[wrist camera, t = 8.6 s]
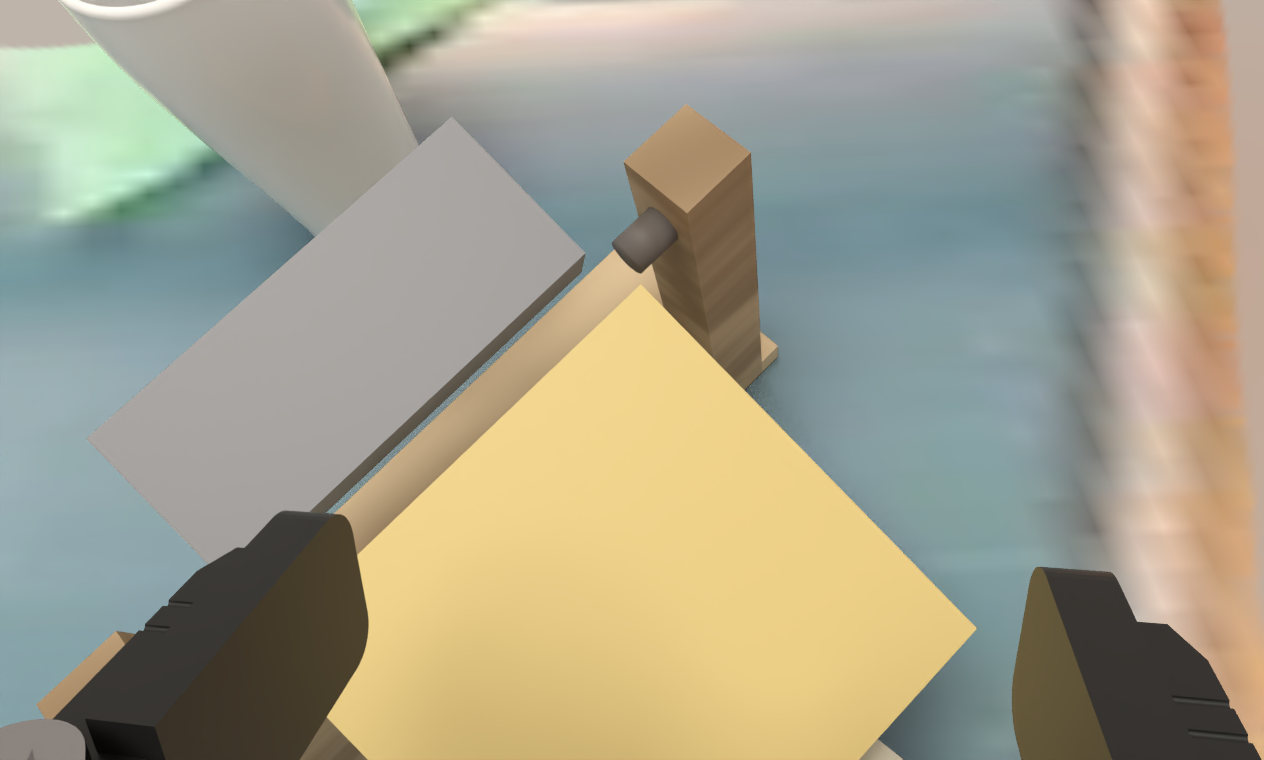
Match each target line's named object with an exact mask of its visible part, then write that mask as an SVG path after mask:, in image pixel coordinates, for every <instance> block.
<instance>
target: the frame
mask: <svg viewBox="0 0 1264 760" xmlns="http://www.w3.org/2000/svg"><path fill="white" fill-rule="evenodd" d="M624 165H625V169H626V173H627V176H628V180H629V183H630V187H631V191H632V194H633V198H634V202H635V205H636V209H637V212H638V216H639V217H638V218H637V219H636V220H635V221H634V222H633V223H632V224H631V225H630V226H629V227H628V228H627V229H626V230H625V231H624V232H622V233H621V234H620V235H619V236H618V237H617V238H616V239H615V240H614V241H613V242H612V245H613V247H614V249H615V250H613V251H612V252H611V253H610V254H609V255H608V256H607V257H606V258H605V259H604V260H603V261H602V262H601V263H600V264H599V265H598V266H596V267H595V268H594V269H593V270H592V271H591V272H590V273H589V274H588V275H587V276H586V277H585V278H584V279H583V280H582V281H581V282H579V283H578V284H577V285H576V286H575V287H574V288H573V289H572V290H571V291H570V292H569V293H568V294H567V295H566V296H565V297H564V298H562V299H561V300H560V301H559V302H558V303H557V304H556V305H555V306H554V307H553V308H552V309H551V310H550V311H549V312H548V313H547V314H545V315H544V316H543V317H542V318H541V319H540V320H539V321H538V322H537V323H536V324H535V325H534V326H533V327H532V328H531V329H530V330H528V331H527V332H526V333H525V334H524V335H523V336H522V337H521V338H520V339H519V340H518V341H517V342H516V343H515V344H514V345H513V346H511V347H510V348H509V349H508V350H507V351H506V352H505V353H504V354H503V355H502V356H501V357H500V358H499V359H498V360H497V361H496V362H494V363H493V364H492V365H491V366H490V367H489V368H488V369H487V370H486V371H485V372H484V373H483V374H482V375H481V376H480V377H479V378H477V379H476V380H475V381H474V382H473V383H472V384H471V385H470V386H469V387H468V388H467V389H466V390H465V391H464V392H463V393H462V394H461V395H459V396H458V397H457V398H456V399H455V400H454V401H453V402H452V403H451V404H450V405H449V406H448V407H447V408H446V409H445V410H444V411H442V412H441V413H440V414H439V415H438V416H437V417H436V418H435V419H434V420H433V421H432V422H431V423H430V424H429V425H428V426H427V427H425V428H424V429H423V430H422V431H421V432H420V433H419V434H418V435H417V436H416V437H415V438H414V439H413V440H412V441H411V442H410V443H408V444H407V445H406V446H405V447H404V448H403V449H402V450H401V451H400V452H399V453H398V454H397V455H396V456H395V457H394V458H393V459H391V460H390V461H389V462H388V463H387V464H386V465H385V466H384V467H383V468H382V469H381V470H380V471H379V472H378V473H377V474H376V475H374V476H373V477H372V478H371V479H370V480H369V481H368V482H367V483H366V484H365V485H364V486H363V487H362V488H361V489H360V490H359V491H357V492H356V493H355V494H354V495H353V496H352V497H351V498H350V499H349V500H348V501H347V502H346V503H345V504H344V505H343V506H342V507H340V508H339V509H338V510H337V511H336V512H335V513H334V514H342V515H344V516H345V517H346V518H347V519H348V521H349V522H350V525H351V527H352V531H353V536H354V541H355V546H356V552H357V555H358V554H359V553H360V552H361V551H362V550H363V549H364V548H365V547H366V546H367V545H368V544H369V543H370V542H371V541H372V540H373V539H374V538H375V537H376V536H378V535H379V534H380V533H381V532H382V531H383V530H384V529H385V528H386V527H387V526H388V525H389V524H390V523H391V522H392V521H393V520H394V519H395V518H396V517H397V516H398V515H400V514H401V513H402V512H403V511H404V510H405V509H406V508H407V507H408V506H409V505H410V504H411V503H412V502H413V501H414V500H415V499H416V498H417V497H418V496H419V495H420V494H422V493H423V492H424V491H425V490H426V489H427V488H428V487H429V486H430V485H431V484H432V483H433V482H434V481H435V480H436V479H437V478H438V477H439V476H440V475H441V474H442V473H444V472H445V471H446V470H447V469H448V468H449V467H450V466H451V465H452V464H453V463H454V462H455V461H456V460H457V459H458V458H459V457H460V456H461V455H462V454H463V453H464V452H466V451H467V450H468V449H469V448H470V447H471V446H472V445H473V444H474V443H475V442H476V441H477V440H478V439H479V438H480V437H481V436H482V435H483V434H484V433H485V432H486V431H488V430H489V429H490V428H491V427H492V426H493V425H494V424H495V423H496V422H497V421H498V420H499V419H500V418H501V417H502V416H503V415H504V414H505V413H506V412H507V411H508V410H510V409H511V408H512V407H513V406H514V405H515V404H516V403H517V402H518V401H519V400H520V399H521V398H522V397H523V396H524V395H525V394H526V393H527V392H528V391H529V390H530V389H532V388H533V387H534V386H535V385H536V384H537V383H538V382H539V381H540V380H541V379H542V378H543V377H544V376H545V375H546V374H547V373H548V372H549V371H550V370H551V369H552V368H554V367H555V366H556V365H557V364H558V363H559V362H560V361H561V360H562V359H563V358H564V357H565V356H566V355H567V354H568V353H569V352H570V351H571V350H572V349H573V348H574V347H576V346H577V345H578V344H579V343H580V342H581V341H582V340H583V339H584V338H585V337H586V336H587V335H588V334H589V333H590V332H591V331H592V330H593V329H594V328H595V327H596V326H598V325H599V324H600V323H601V322H602V321H603V320H604V319H605V318H606V317H607V316H608V315H609V314H610V313H611V312H612V311H613V310H614V309H615V308H616V307H617V306H618V305H620V304H621V303H622V302H623V301H624V300H625V299H626V298H627V297H628V296H629V295H630V294H631V293H632V292H633V291H634V290H635V289H636V288H637V287H638V286H639V285H640V284H641V285H642V286H643V287H644V288H645V289H646V290H647V291H648V292H649V293H650V294H651V295H652V296H653V297H654V298H655V299H656V300H657V301H658V302H659V303H660V304H661V305H662V306H663V307H664V308H665V310H666V311H667V312H668V313H669V314H670V315H671V316H672V317H673V318H674V319H675V320H676V321H677V322H678V323H679V324H680V325H681V326H682V327H683V328H684V329H685V330H686V331H687V332H688V333H689V334H690V335H691V336H692V337H693V338H694V339H695V340H696V341H697V342H698V343H699V344H700V345H701V346H702V347H703V348H704V349H705V350H706V352H707V353H708V354H709V355H710V356H711V357H712V358H713V359H714V360H715V361H716V362H717V363H718V364H719V365H720V366H721V367H722V368H723V369H724V370H725V371H726V372H727V373H728V374H729V375H730V376H731V377H732V378H733V379H734V380H735V381H736V382H737V383H738V384H739V385H740V386H741V387H742V388H743V389H744V390H745V389H746V388H747V387H748V386H749V385H750V384H751V383H752V382H753V381H754V380H755V379H756V378H757V377H758V376H759V375H760V374H761V373H762V372H763V371H764V370H765V369H766V368H767V367H768V366H769V365H770V364H771V363H772V362H773V361H774V360H775V359H776V358H777V357H778V346H777V345H776V344H775V343H774V342H772V341H771V340H770V339H769V338H768V337H766V336H765V335H764V334H763V333H762V332H761V331H760V318H759V299H758V279H757V260H756V241H755V222H754V203H753V184H752V165H751V152H749V151H748V150H747V149H745V148H744V147H743V146H741V145H740V144H739V143H737V142H736V141H735V140H733V139H732V138H731V137H729V136H728V135H727V134H725V133H724V132H723V131H721V130H720V129H719V128H717V127H716V126H715V125H713V124H712V123H711V122H709V121H708V120H707V119H705V118H704V117H703V116H701V115H700V114H699V113H697V112H696V111H695V110H693V109H692V108H691V107H689V106H688V105H687V104H686V105H685V106H684V107H682V108H681V109H680V110H679V111H678V112H677V113H676V114H675V115H674V116H673V117H672V118H671V119H669V120H668V121H667V122H666V123H665V124H664V125H663V126H662V127H661V128H660V129H659V130H658V131H656V132H655V133H654V134H653V135H652V136H651V137H650V138H649V139H648V140H647V141H646V142H645V143H643V144H642V145H641V146H640V147H639V148H638V149H637V150H636V151H635V152H634V153H633V154H632V155H631V156H629V157H628V158H627V159H626V160H625V161H624ZM134 635H135V634H131V633H125V632H119V631H116V632H114V633H113V634H112V635H111V636H110V637H109V638H108V639H107V640H106V641H105V642H104V643H103V644H101V645H100V646H99V647H98V648H97V649H96V650H95V651H94V652H93V653H92V654H91V655H90V656H88V657H87V658H86V659H85V660H84V661H83V662H82V663H81V664H80V665H79V666H78V667H77V668H76V669H74V670H73V671H72V672H71V673H70V674H69V675H68V676H67V677H66V678H65V679H64V680H63V681H61V682H60V683H59V684H58V685H57V686H56V687H55V688H54V689H53V690H52V691H51V692H50V693H48V694H47V695H46V696H45V697H44V698H43V699H42V700H41V701H40V702H39V703H38V704H37V706H38V708H39V710H40V711H41V713H42V714H43V716H44V718H45V719H53V718H54V717H55V716H56V715H57V714H58V713H59V712H60V711H61V710H62V709H63V708H64V707H65V706H66V705H67V704H68V703H69V702H70V701H71V699H72V698H73V697H74V696H75V695H76V694H77V693H78V692H79V691H80V690H81V689H82V688H83V687H84V686H85V685H86V684H87V683H88V682H89V681H90V680H91V679H92V678H93V677H94V676H95V675H96V674H97V673H98V672H99V671H100V670H101V669H102V668H103V667H104V666H105V665H106V664H107V663H108V662H109V661H110V660H111V659H112V658H113V657H114V656H115V655H116V653H117V652H118V651H119V650H120V649H121V648H122V647H123V646H124V645H125V644H126V643H127V642H128V641H129V640H130V639H131V638H132V637H133V636H134ZM300 760H368V759H367V758H366V757H365V756H364V755H363V754H362V753H361V752H360V751H359V750H358V749H357V748H356V747H355V746H354V745H353V744H352V743H351V742H350V741H349V740H348V739H347V738H346V737H345V736H344V735H343V734H342V733H341V732H340V731H339V729H338V728H337V727H336V726H335V725H334V724H333V723H332V722H331V721H330V720H329V719H328V718H327V717H326V719H325V721H324V722H323V724H322V725H321V727H320V729H319V730H318V732H317V733H316V735H315V736H314V738H313V740H312V741H311V743H310V744H309V746H308V748H307V749H306V751H305V752H304V754H303V756H302V757H301V759H300Z"/></svg>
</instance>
